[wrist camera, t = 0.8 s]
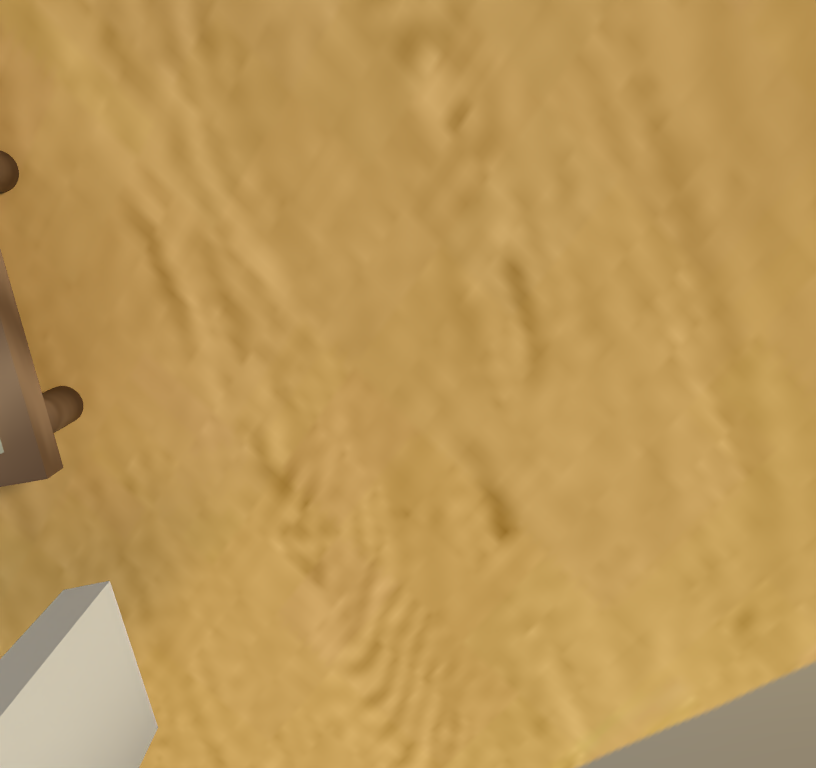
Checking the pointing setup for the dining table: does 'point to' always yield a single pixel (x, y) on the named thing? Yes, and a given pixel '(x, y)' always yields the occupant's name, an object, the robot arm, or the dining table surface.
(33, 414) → the footstool
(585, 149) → the dining table surface
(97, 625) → the robot arm
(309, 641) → the dining table surface
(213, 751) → the dining table surface
